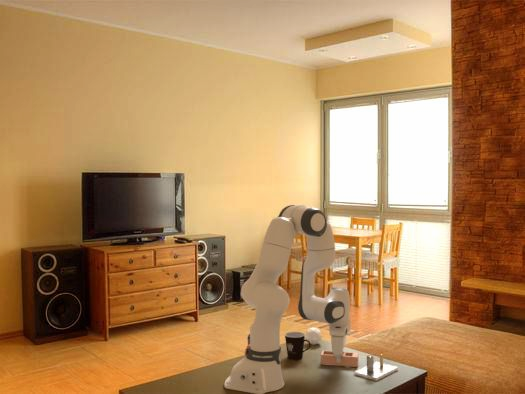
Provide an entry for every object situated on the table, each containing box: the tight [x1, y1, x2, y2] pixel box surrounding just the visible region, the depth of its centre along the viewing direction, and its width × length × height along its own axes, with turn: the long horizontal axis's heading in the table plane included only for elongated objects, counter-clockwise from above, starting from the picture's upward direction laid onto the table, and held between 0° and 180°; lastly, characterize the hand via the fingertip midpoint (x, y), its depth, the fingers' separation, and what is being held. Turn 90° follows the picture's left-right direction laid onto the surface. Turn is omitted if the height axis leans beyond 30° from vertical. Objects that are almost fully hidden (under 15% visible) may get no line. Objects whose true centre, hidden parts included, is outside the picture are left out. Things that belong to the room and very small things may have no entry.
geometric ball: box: [305, 327, 323, 346], centre depth 250 cm, size 8×8×8 cm
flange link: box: [320, 350, 359, 368], centre depth 222 cm, size 15×6×4 cm, turn 76°
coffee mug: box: [284, 331, 311, 361], centre depth 230 cm, size 12×9×10 cm
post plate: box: [353, 353, 399, 382], centre depth 212 cm, size 16×10×8 cm, turn 136°
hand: (339, 359), depth 222 cm, fingers closed on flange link, 6 cm apart
